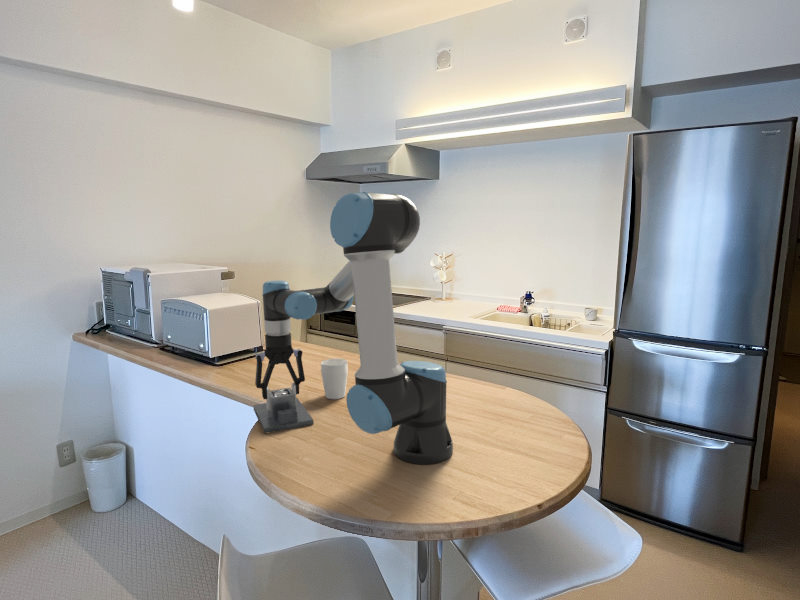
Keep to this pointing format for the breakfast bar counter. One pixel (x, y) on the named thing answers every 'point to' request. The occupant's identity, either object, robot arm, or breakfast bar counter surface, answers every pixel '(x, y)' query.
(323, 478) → the breakfast bar counter surface
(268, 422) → the shaft base
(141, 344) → the breakfast bar counter surface
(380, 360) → the robot arm
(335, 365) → the cup
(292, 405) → the grey hollow block
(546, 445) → the breakfast bar counter surface
